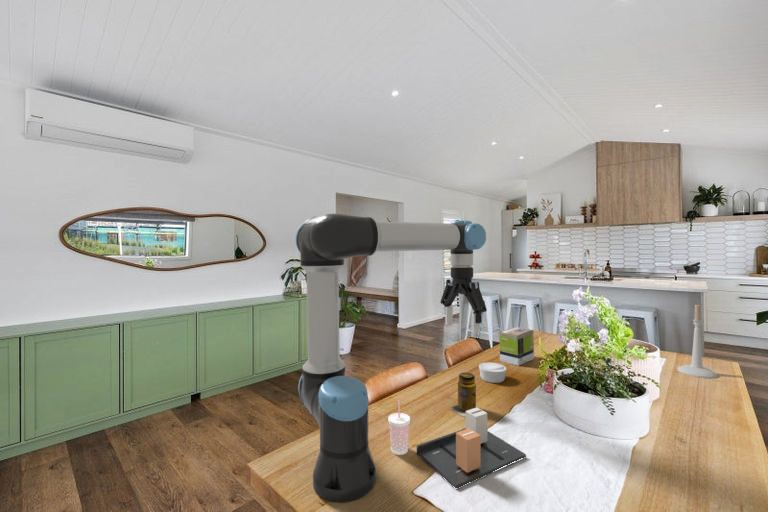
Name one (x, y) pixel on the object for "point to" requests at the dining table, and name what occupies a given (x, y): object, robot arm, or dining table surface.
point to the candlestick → (697, 352)
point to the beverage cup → (399, 432)
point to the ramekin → (492, 372)
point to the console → (444, 457)
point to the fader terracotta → (468, 450)
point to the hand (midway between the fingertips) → (462, 328)
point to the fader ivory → (477, 422)
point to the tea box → (516, 346)
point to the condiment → (465, 394)
